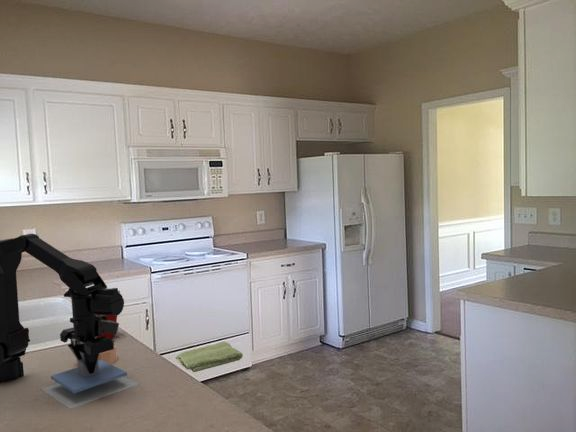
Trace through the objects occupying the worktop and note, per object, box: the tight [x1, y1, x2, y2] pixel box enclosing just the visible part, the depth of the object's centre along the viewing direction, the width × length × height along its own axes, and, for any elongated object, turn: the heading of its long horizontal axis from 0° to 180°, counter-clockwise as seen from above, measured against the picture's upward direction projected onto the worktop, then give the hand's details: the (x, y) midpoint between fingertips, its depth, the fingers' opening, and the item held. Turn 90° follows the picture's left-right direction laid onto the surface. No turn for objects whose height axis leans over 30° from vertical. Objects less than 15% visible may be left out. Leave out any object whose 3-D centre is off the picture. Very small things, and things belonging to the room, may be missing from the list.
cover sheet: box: [50, 359, 128, 393], centre depth 134 cm, size 14×14×5 cm
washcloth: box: [175, 341, 244, 373], centre depth 153 cm, size 13×18×3 cm
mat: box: [40, 376, 139, 410], centre depth 134 cm, size 18×18×1 cm
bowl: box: [75, 343, 118, 367], centre depth 152 cm, size 11×11×5 cm
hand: (88, 371), depth 134 cm, fingers closed on cover sheet, 3 cm apart
